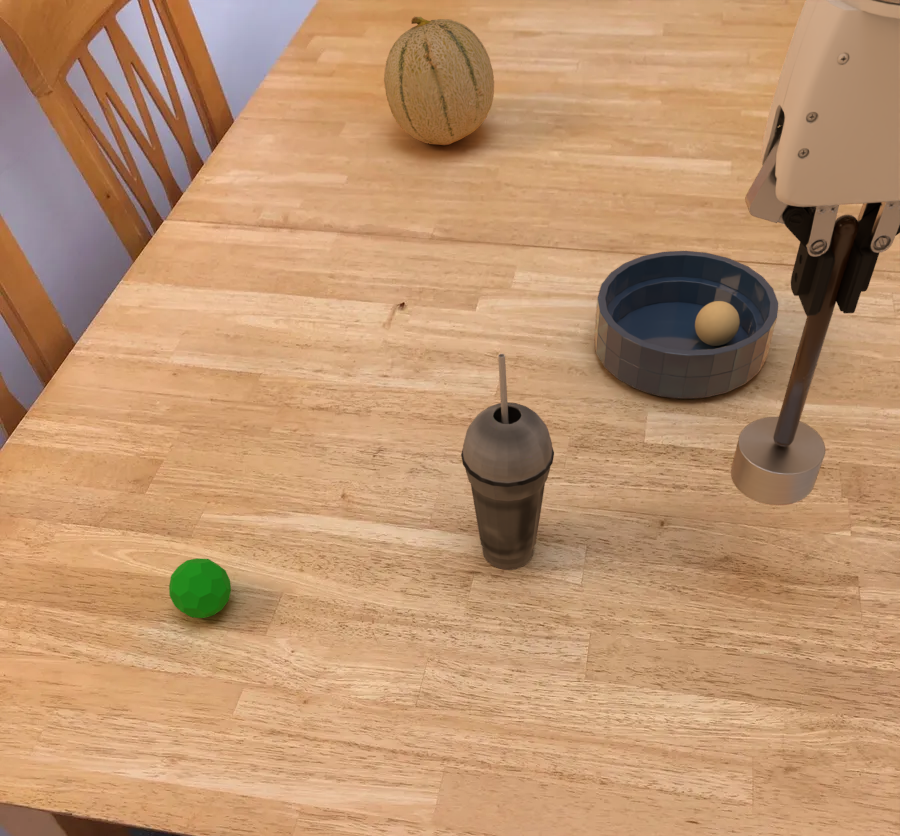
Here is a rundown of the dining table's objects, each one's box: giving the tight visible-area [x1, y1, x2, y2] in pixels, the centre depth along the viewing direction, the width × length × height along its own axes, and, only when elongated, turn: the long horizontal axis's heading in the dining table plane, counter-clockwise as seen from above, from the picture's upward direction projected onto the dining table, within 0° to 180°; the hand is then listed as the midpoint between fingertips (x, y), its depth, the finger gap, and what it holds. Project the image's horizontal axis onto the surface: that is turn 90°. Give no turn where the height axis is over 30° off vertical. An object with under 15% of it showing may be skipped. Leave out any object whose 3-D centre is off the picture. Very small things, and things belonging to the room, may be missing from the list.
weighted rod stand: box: [730, 214, 859, 506], centre depth 60 cm, size 6×6×21 cm
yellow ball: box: [695, 301, 740, 346], centre depth 95 cm, size 4×4×4 cm
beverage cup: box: [460, 353, 555, 571], centre depth 73 cm, size 7×7×20 cm
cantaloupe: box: [383, 16, 495, 146], centre depth 122 cm, size 15×15×15 cm
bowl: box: [593, 250, 779, 400], centre depth 95 cm, size 18×18×6 cm
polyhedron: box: [168, 557, 232, 619], centre depth 77 cm, size 5×5×5 cm
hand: (824, 299), depth 56 cm, fingers closed on weighted rod stand, 1 cm apart
